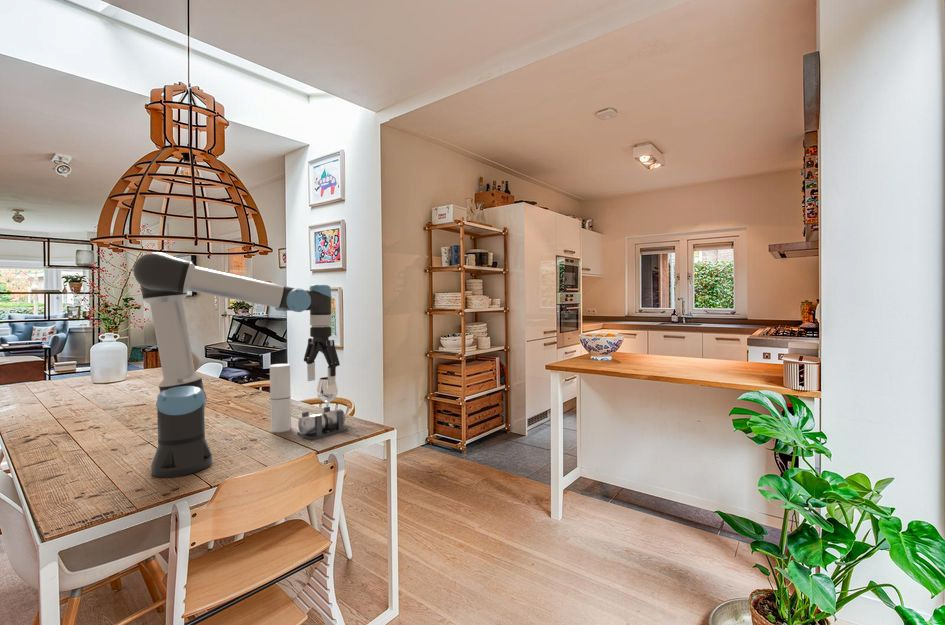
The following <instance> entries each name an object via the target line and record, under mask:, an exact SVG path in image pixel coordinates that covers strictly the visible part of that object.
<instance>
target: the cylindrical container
mask: <svg viewBox="0 0 945 625" xmlns="http://www.w3.org/2000/svg"><path fill="white" fill-rule="evenodd" d="M269 394H270V395H269V398H270V399H269V401H270V404H269V405H270V409H269V411H270V431H271V433H285V432H288V431H290V430H292V408H291V407H292V402H291V401H292V399H291V363H274V364H271V365H269Z"/></svg>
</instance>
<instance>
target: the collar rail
mask: <svg viewBox="0 0 945 625" xmlns="http://www.w3.org/2000/svg"><path fill="white" fill-rule="evenodd" d="M329 411H331V407H330V406H328V407H326V406H325V407H323V413H325V412H329ZM343 412H344V410H343V409H341V410H340V411H337V426H334V427H330V428H326V429H324V430H322V416H321V415H319V416H315V432H311V433H307V434H302V433H301V432H300V431H297V436H299V437H302V438H305V439H307V440H310V441H314V440H319V439H321V438H325V437H329V436H332V435H336V434H339V433H343V432H346V431H349V427H348V426H347V427H346V426H344V424H343ZM306 416H310V411H308V410H307V411H303V412H301V418H302V417H306Z"/></svg>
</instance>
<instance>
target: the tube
mask: <svg viewBox="0 0 945 625" xmlns="http://www.w3.org/2000/svg"><path fill="white" fill-rule="evenodd" d="M340 410H342V408H339V409H333V410H330V411H329V412H325V413H324V412H320V413H316V414H312V415H309V416H306V417H302V416H301V417H299V420H298V422H297V424H298V430H299V432H301V433H302V434H307V433H311V432H315V416H319V415H321V416H322V430H324V429H326V428H330V427H334V426H337V411H340ZM345 422H346V414H345V411H343V425H344V424H345Z"/></svg>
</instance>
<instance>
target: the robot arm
mask: <svg viewBox="0 0 945 625" xmlns="http://www.w3.org/2000/svg"><path fill="white" fill-rule="evenodd" d="M132 272H133V276H134V278H135V281H136V282H137V283H138V284H139V285H140V290H141V295H142V296H141V297H142V300H143V301H145V302H146V303H148V304H149V307H150V312H151V316H152V323H153V327H154V333H155V339H156V344H157V350H158V355H159V360H160V366H161V372H162V378H163V379H162V380H161V382H160V383H159V384H158V388H159V394H158V395H157V396H156V397H157V398H156V402H155V406H156V409H157V412H156V413H157V415H156V418H157V447H156V451H155V454H154V457H153V459H152V462H151V465H150V466H151V467H150V470H151V471H150V472H151V473H150V474H151V475H152V476H153V477H155V478H156V477H157V478H175V477H182V476H187V475H192V474H194V473H197V472H200V471H203V470H206V469H207V468H209V467H210V466H211V465H212V464H213V453H212V452H211V449H210V447H209V445H208V442H207V440H206V432H205V431H206V428H205V427H206V424H205V423H206V422H205V419H206V418H205V410H206V409H205V408H206V405H207V401H208V400H207V394H206V391H205V389H204V384H203V378H202V376H201V375H200V374H198V373H196V369H195V364H194V360H193V352H192V347H191V346H192V345H191V341H190V334H189V331H188V329H189V328H188V324H187V319H186V318H187V317H186V312H185V307H184V299H186V297H187V296H188V292H195V293H200V294H204V295H210V296H215V297H219V298H224V299H225V298H226V299H230V300H235V301H240V302H246V303H250V304H256V305H262V306H266V307H272V308H274V309H275V310H276V311H281V312H286V311H287V312H289V311H290V312H295V313H302V312H304V311H309V325H310V326H311V327H310V328H309V332H310V333H309V337H308V340H307V346H306V350H305V353H304V357H303V362H305V363H306V364H307V365H306V366H307V369H306V370H307V381H308V382H312V381H316V362H315V360H316V358H317V356H318V354H319V352H320V353H322V354H323V356H324V359H325V360H326V362H327V365H328V366H327V377H328V386H331V385H335V381H336V376H337V374H336V373H337V372H336V371H337V367H339V366H341V365H340V361H339V357H338V353H337V349H336V346H335V344H336V343H335V340H334V339H330V338H329V337H332V327H331V325H332V288H331V286H330V285H328V284H311V285H310V286H309V289H303V288H295V287H291V286H286V285H285V286H284V285H280V284H279V283H278V284H277V283H273V282H267V281H264V280H258V279H254V278H250V277H246V276H241V275H236V274H232V273H228V272H227V273H226V272H222V271H218V270H214V269H209V268H206V267H201V266H196V265H195V264H194V263H193V261H188V260H184V259H181V258H178V257H175V256H172V255H170V254H167V253H164V252H159V251H156V252H148V253H146V254H144V255H142V256H140V257H139V258H137V259H136V261H135V263H134V265H133V271H132Z"/></svg>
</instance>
